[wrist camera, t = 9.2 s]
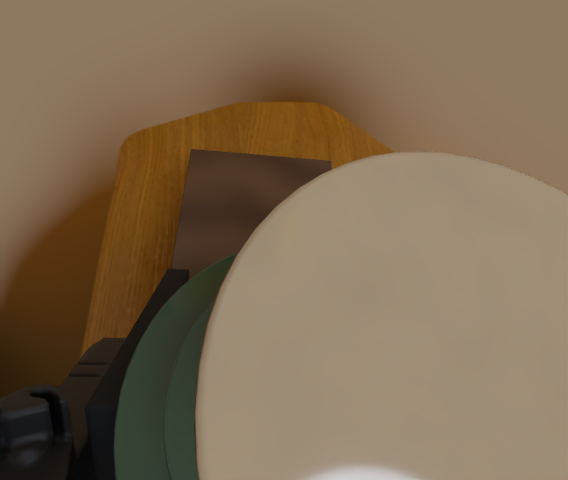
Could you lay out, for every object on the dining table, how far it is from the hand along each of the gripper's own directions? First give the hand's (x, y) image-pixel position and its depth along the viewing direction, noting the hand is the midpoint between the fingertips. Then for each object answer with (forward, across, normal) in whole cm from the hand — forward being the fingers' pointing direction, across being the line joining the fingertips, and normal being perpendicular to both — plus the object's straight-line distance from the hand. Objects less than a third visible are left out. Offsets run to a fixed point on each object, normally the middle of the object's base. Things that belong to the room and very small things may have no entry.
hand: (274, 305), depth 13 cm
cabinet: (+23, 0, -8) cm, 24 cm away
